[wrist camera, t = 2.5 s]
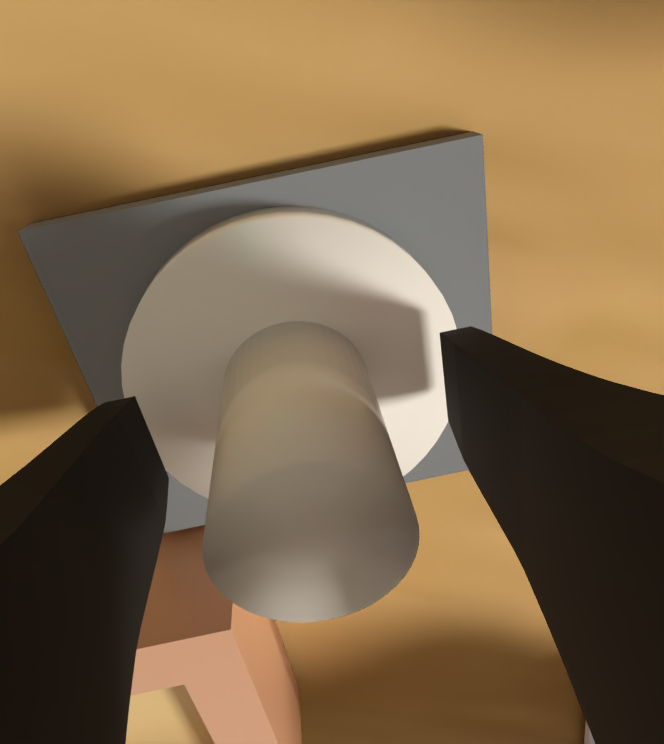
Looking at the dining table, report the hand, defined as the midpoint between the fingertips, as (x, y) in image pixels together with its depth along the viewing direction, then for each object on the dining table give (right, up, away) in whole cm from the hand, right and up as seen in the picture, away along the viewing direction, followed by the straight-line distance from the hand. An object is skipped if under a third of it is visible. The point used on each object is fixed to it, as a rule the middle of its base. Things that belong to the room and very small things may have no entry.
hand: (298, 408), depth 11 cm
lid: (0, +1, +2) cm, 2 cm away
